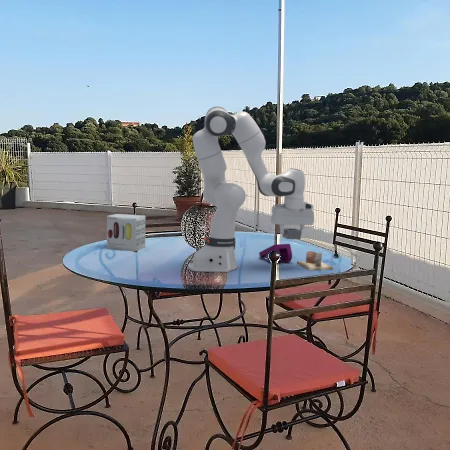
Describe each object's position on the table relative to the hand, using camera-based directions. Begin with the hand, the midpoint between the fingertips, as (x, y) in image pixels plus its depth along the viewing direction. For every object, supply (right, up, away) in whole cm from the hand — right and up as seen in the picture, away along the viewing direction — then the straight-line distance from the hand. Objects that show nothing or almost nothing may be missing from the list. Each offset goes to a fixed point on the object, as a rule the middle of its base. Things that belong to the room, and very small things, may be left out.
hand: (291, 234), depth 211 cm
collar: (0, -2, 0) cm, 2 cm away
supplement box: (-85, -9, +39) cm, 94 cm away
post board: (+12, -16, +7) cm, 21 cm away
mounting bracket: (-6, -14, +19) cm, 25 cm away
